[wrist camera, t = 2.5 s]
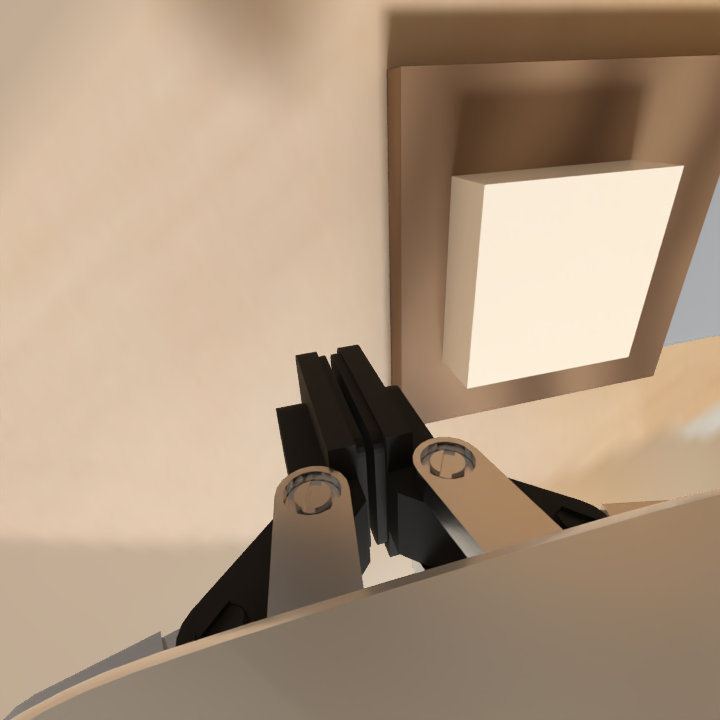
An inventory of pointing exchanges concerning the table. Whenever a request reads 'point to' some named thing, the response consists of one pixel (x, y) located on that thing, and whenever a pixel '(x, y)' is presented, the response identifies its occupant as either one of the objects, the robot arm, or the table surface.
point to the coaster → (551, 266)
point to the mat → (700, 285)
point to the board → (530, 151)
